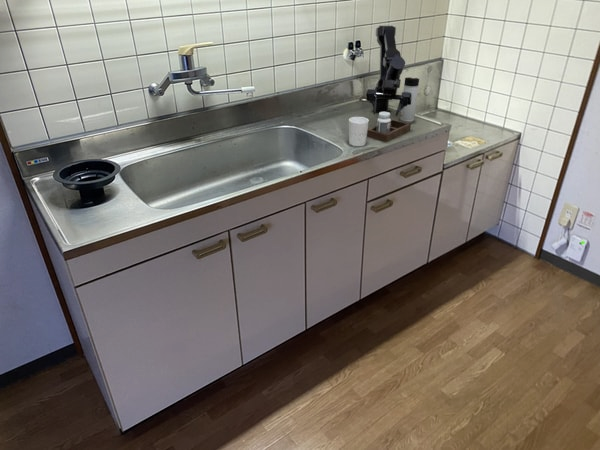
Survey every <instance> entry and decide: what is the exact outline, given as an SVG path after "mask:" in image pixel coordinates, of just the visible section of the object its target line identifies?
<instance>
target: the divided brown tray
mask: <svg viewBox="0 0 600 450" xmlns="http://www.w3.org/2000/svg"><path fill="white" fill-rule="evenodd" d="M390 119H391V125H390V132H389V133H386V134H384V133H381V132H377V131H376V130H377V124H376V125H374V126H372V127H368V131H367V137H366V138H370V139H374V140H377V141H381V142H384V143H387V142H389V141H391V140H393V139H396V138H398V137H400V136H402V135H404V134H406V133H408V132H410V131H411V127H412V123H405V122H401V121H400V120H398V119H393V118H390Z"/></svg>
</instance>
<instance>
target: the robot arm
mask: <svg viewBox="0 0 600 450" xmlns="http://www.w3.org/2000/svg"><path fill="white" fill-rule="evenodd" d="M396 31H397V26H396V27H395V26H393V25H378V27H376V28H375V37H376V42H377V44H378V46H379V79H378V80H377V82H376V84H375V87H374V89H373V88H368V89H366V92H365V97H366V101H368V102H369V103H370V104H371V105H372V112H373V115H375V114H376V113H378V114H379V113H380V112H389V113H390V112H391V109H389V104H390V103H389V102H390V101H393V100H397V101H399V103H398V105H397V109H396V112H395V117H396V118H397V117H398V116H399V114H401V110H402V109H403V108H404V107H405V106H407V105H410V104H411V101H412V94H411V93H410V92H403V91H402V92H401V94H397V93H398V89H400V87H401V79H400V78H401V75H402V73H403V71H404V68H405V67H406V61H405V59H404V58H403V56H402V55H401V52H400V51H399V50H398V48H397V42H396V33H397V32H396Z"/></svg>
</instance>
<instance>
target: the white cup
mask: <svg viewBox="0 0 600 450" xmlns="http://www.w3.org/2000/svg"><path fill="white" fill-rule="evenodd" d="M369 121H370V120H369V118H367V117H364V116H352V117H350V118H348V144H349V145H350V146H352V147H363V146H365V145H366V144H367V138H368V137H367V131H368V129H369V123H370V122H369Z"/></svg>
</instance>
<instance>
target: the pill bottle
mask: <svg viewBox="0 0 600 450" xmlns="http://www.w3.org/2000/svg"><path fill="white" fill-rule="evenodd" d="M391 119H392V118H391V113H390V112H380V113H378V117H377V120H376V125H377V130H376V131H377V132H381V133H384V134H386V133H389V132H390V125H391Z"/></svg>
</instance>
